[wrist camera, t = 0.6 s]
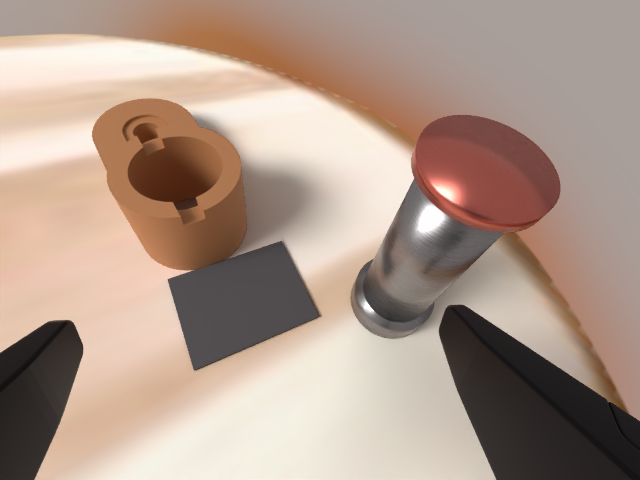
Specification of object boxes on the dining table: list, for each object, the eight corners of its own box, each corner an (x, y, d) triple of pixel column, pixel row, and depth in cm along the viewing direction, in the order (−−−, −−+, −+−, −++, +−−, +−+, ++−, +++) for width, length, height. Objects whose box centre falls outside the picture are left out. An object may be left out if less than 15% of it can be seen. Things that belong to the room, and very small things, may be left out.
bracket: (264, 243, 28) (262, 187, 23) (163, 289, 25) (131, 238, 19) (181, 114, 36) (163, 46, 30) (94, 137, 32) (55, 67, 27)
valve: (440, 320, 26) (590, 195, 14) (374, 353, 24) (481, 241, 12) (398, 257, 29) (493, 104, 17) (335, 282, 27) (390, 130, 15)
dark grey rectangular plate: (318, 317, 25) (318, 316, 25) (194, 370, 22) (193, 369, 22) (281, 242, 28) (281, 240, 28) (168, 280, 25) (167, 279, 25)
